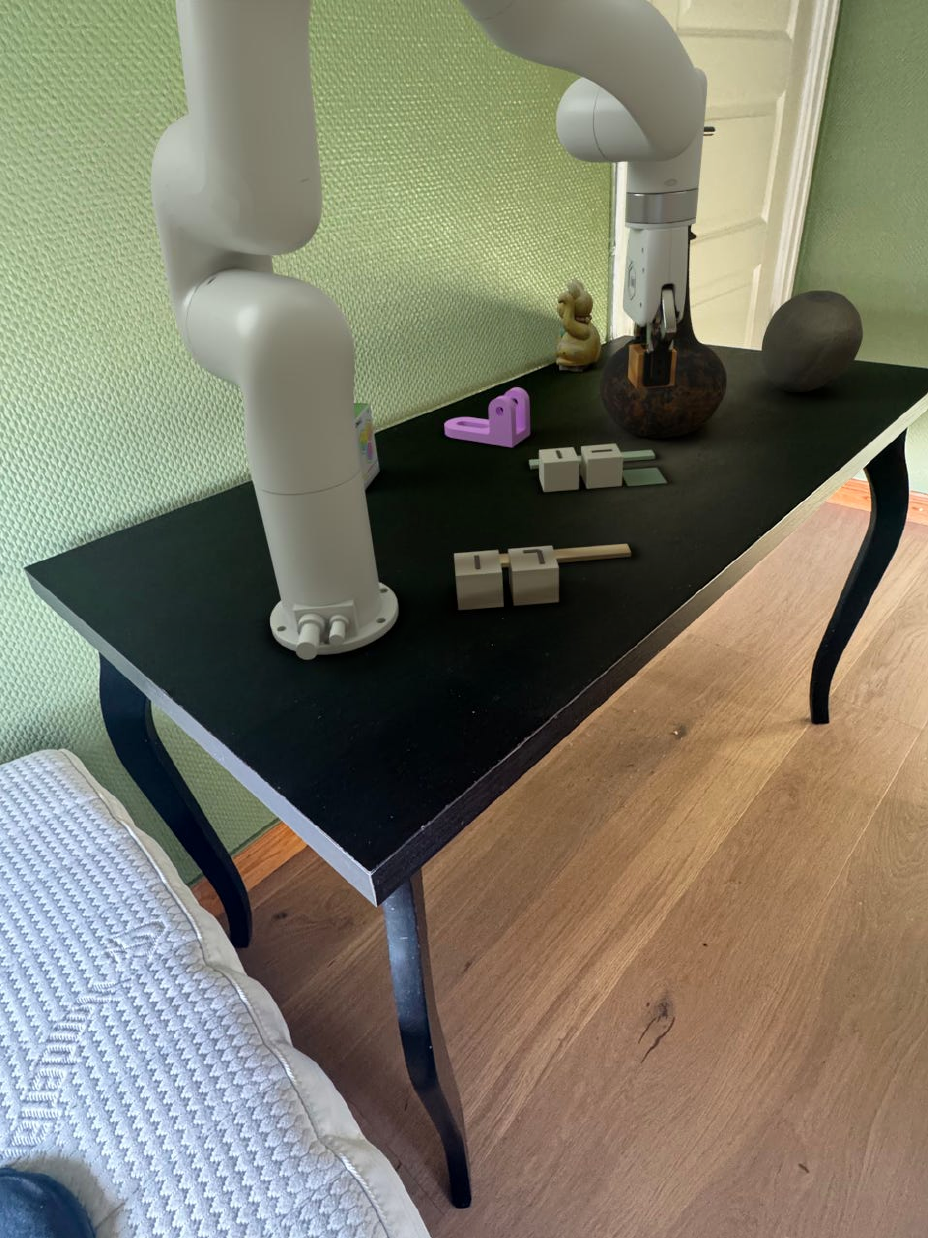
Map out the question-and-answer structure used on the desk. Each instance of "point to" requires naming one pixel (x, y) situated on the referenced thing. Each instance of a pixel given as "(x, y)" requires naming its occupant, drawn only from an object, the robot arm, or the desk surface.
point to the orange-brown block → (637, 365)
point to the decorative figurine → (576, 329)
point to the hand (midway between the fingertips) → (650, 377)
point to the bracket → (496, 422)
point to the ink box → (366, 442)
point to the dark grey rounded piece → (811, 340)
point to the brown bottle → (668, 405)
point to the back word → (592, 468)
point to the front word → (520, 573)
